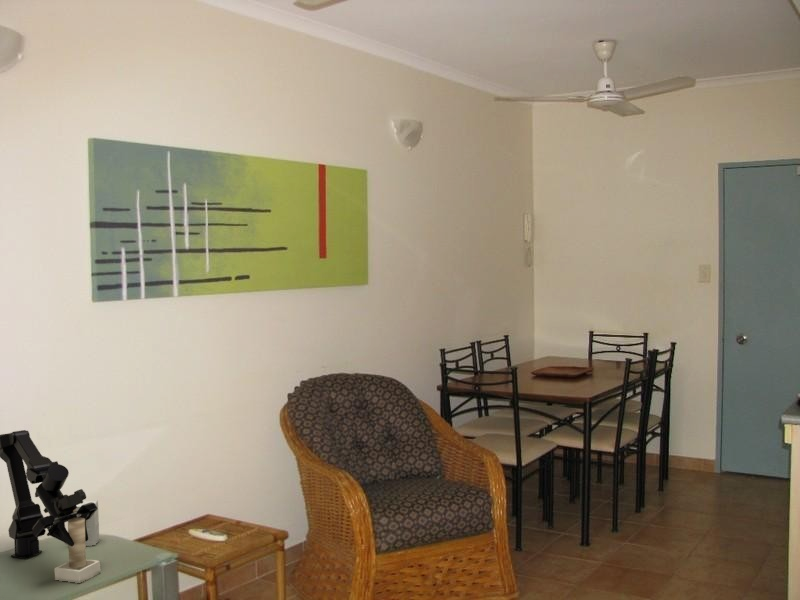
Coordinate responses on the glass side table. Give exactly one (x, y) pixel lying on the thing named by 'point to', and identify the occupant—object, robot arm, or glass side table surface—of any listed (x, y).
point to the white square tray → (77, 572)
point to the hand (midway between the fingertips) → (80, 542)
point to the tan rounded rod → (77, 542)
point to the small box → (91, 525)
